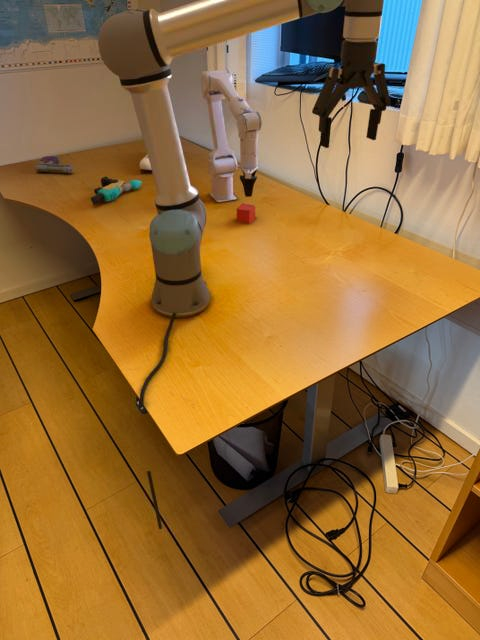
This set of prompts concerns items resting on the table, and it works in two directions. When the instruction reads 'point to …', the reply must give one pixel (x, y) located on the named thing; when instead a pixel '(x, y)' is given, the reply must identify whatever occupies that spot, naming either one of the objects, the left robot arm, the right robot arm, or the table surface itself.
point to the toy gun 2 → (113, 189)
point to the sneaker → (145, 163)
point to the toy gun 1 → (53, 165)
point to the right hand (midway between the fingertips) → (248, 192)
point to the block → (246, 213)
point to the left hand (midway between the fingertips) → (348, 142)
